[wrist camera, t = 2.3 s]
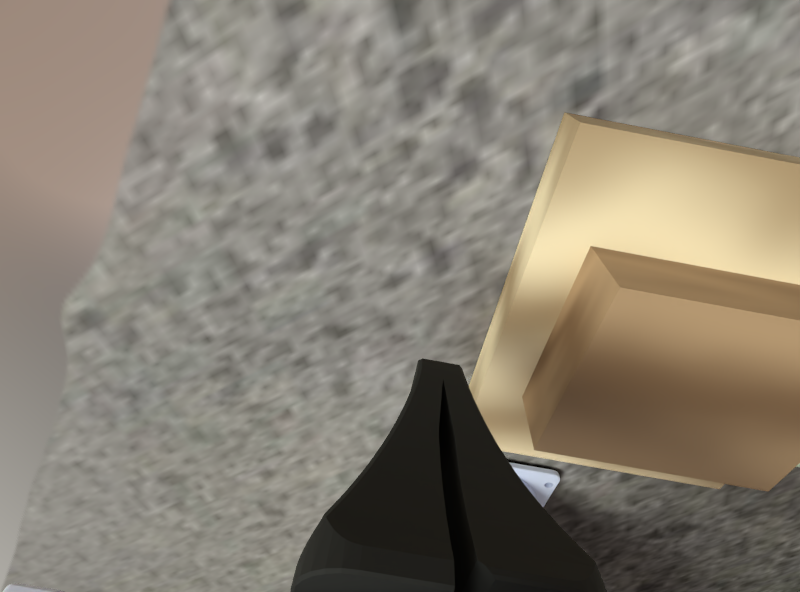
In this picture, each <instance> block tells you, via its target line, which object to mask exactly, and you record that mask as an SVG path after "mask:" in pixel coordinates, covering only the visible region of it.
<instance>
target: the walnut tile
mask: <svg viewBox="0 0 800 592" xmlns="http://www.w3.org/2000/svg"><path fill="white" fill-rule="evenodd" d="M522 399H523V403H524V408H525V412H526V416H527V421H528V425H529V430H530V434H531V438H532V443H533V447H534V450H536V451H542V452H547V453H553V454H559V455H564V456H570V457H576V458H581V459H587V460H593V461H598V462H604V463H610V464H615V465H621V466H627V467H632V468H638V469H644V470H649V471H655V472H661V473H666V474H672V475H678V476H683V477H689V478H695V479H700V480H706V481H712V482H717V483H723V484H729V485H734V486H740V487H746V488H751V489H757V490H763V491H770V490H771V489H772V488H773V487H774V486H775V485H776V484H777V483H778V482H779V481H780V480H782V479H783V478H784V477H785V476H786V475H787V474H788V473H789V472H790V471H791V470H793V469H794V468H795V467H796V466H797V465H798V464H799V463H800V285H798V284H792V283H787V282H782V281H776V280H771V279H765V278H760V277H755V276H749V275H744V274H739V273H733V272H728V271H722V270H717V269H712V268H706V267H701V266H696V265H690V264H685V263H680V262H674V261H669V260H663V259H658V258H653V257H647V256H642V255H637V254H631V253H626V252H620V251H615V250H610V249H604V248H599V247H594V246H590V248H589V251H588V253H587V255H586V257H585V259H584V262H583V264H582V266H581V268H580V270H579V273H578V275H577V277H576V279H575V281H574V284H573V286H572V288H571V290H570V292H569V295H568V297H567V299H566V301H565V303H564V306H563V308H562V310H561V312H560V314H559V317H558V319H557V321H556V323H555V325H554V328H553V330H552V332H551V334H550V336H549V339H548V341H547V343H546V345H545V347H544V350H543V352H542V354H541V356H540V358H539V361H538V363H537V365H536V367H535V369H534V372H533V374H532V376H531V378H530V381H529V383H528V385H527V387H526V389H525V392H524V394H523V396H522Z"/></svg>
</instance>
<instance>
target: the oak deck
mask: <svg viewBox="0 0 800 592" xmlns="http://www.w3.org/2000/svg"><path fill="white" fill-rule="evenodd" d="M590 246H594V247H599V248H604V249H610V250H615V251H620V252H626V253H631V254H637V255H642V256H647V257H653V258H658V259H663V260H669V261H674V262H680V263H685V264H690V265H696V266H701V267H706V268H712V269H717V270H722V271H728V272H733V273H739V274H744V275H749V276H755V277H760V278H765V279H771V280H776V281H782V282H787V283H792V284H798V285H800V158H799V157H794V156H788V155H783V154H778V153H773V152H768V151H762V150H757V149H752V148H747V147H742V146H736V145H731V144H726V143H721V142H716V141H710V140H705V139H700V138H695V137H690V136H684V135H679V134H674V133H669V132H664V131H658V130H653V129H648V128H643V127H638V126H632V125H627V124H622V123H617V122H612V121H606V120H601V119H596V118H591V117H585V116H580V115H575V114H570V113H564V116H563V118H562V121H561V124H560V127H559V130H558V133H557V136H556V138H555V141H554V144H553V147H552V150H551V153H550V156H549V158H548V161H547V164H546V167H545V170H544V173H543V176H542V178H541V181H540V184H539V187H538V190H537V193H536V196H535V198H534V201H533V204H532V207H531V210H530V213H529V216H528V218H527V221H526V224H525V227H524V230H523V233H522V236H521V238H520V241H519V244H518V247H517V250H516V253H515V256H514V258H513V261H512V264H511V267H510V270H509V273H508V276H507V278H506V281H505V284H504V287H503V290H502V293H501V296H500V298H499V301H498V304H497V307H496V310H495V313H494V316H493V318H492V321H491V324H490V327H489V330H488V333H487V336H486V338H485V341H484V344H483V347H482V350H481V353H480V356H479V358H478V361H477V364H476V367H475V370H474V373H473V376H472V378H471V381H470V384H469V389H470V391H471V393H472V396H473V398H474V400H475V402H476V404H477V407H478V409H479V411H480V413H481V415H482V417H483V419H484V421H485V423H486V425H487V426H488V428H489V430H490V432H491V434H492V435H493V437H494V439H495V441H496V443H497V444H498V446H499V448H500V449H501V451H505V452H511V453H517V454H522V455H528V456H534V457H540V458H545V459H551V460H557V461H562V462H568V463H574V464H579V465H585V466H591V467H596V468H602V469H608V470H613V471H619V472H625V473H630V474H636V475H642V476H647V477H653V478H659V479H664V480H670V481H676V482H681V483H687V484H693V485H698V486H704V487H710V488H715V489H720V488H721V487H722V486H723V485H724V484H723V483H717V482H712V481H706V480H700V479H695V478H689V477H683V476H678V475H672V474H666V473H661V472H655V471H649V470H644V469H638V468H632V467H627V466H621V465H615V464H610V463H604V462H598V461H593V460H587V459H581V458H576V457H570V456H564V455H559V454H553V453H547V452H542V451H536V450H534V447H533V443H532V438H531V434H530V430H529V425H528V421H527V416H526V412H525V408H524V403H523V399H522V396H523V394H524V392H525V389H526V387H527V385H528V383H529V381H530V378H531V376H532V374H533V372H534V369H535V367H536V365H537V363H538V361H539V358H540V356H541V354H542V352H543V350H544V347H545V345H546V343H547V341H548V339H549V336H550V334H551V332H552V330H553V328H554V325H555V323H556V321H557V319H558V317H559V314H560V312H561V310H562V308H563V306H564V303H565V301H566V299H567V297H568V295H569V292H570V290H571V288H572V286H573V284H574V281H575V279H576V277H577V275H578V273H579V270H580V268H581V266H582V264H583V262H584V259H585V257H586V255H587V253H588V251H589V248H590Z"/></svg>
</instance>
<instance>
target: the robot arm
mask: <svg viewBox="0 0 800 592" xmlns="http://www.w3.org/2000/svg"><path fill="white" fill-rule="evenodd" d="M559 481H560V476H559V473H558V472H557V471H555V470H551V469H545V468H540V467H534V466H528V465H522V464H517V463H511V462H508V460H507V459H506V457H505V456H504V454H503V452H502V451H501V449H500V448H499V446H498V444H497V443H496V441H495V439H494V437H493V435H492V434H491V432H490V430H489V428H488V426H487V425H486V423H485V421H484V419H483V417H482V415H481V413H480V411H479V409H478V407H477V404H476V402H475V400H474V398H473V396H472V393H471V391H470V389H469V386H468V384H467V381H466V379H465V376H464V373H463V371H462V368H461V367H460V365H455V364H450V363H444V362H439V361H433V360H427V359H421V360H419V361H418V364H417V368H416V372H415V376H414V380H413V384H412V388H411V392H410V394H409V397H408V399H407V401H406V404H405V406H404V408H403V410H402V411H401V413H400V415H399V417H398V419H397V421H396V423H395V425H394V426H393V428H392V430H391V431H390V433H389V435H388V436H387V438H386V439H385V441H384V442H383V444H382V446H381V447H380V448H379V450H378V451H377V453H376V454H375V456H374V457H373V458H372V460H371V461H370V463H369V464H368V465H367V466H366V468H365V469H364V470H363V472H362V473H361V474H360V475H359V476H358V478H357V479H356V480H355V481H354V482H353V484H352V485H351V486H350V487H349V488H348V490H347V491H346V492H345V493H344V494H343V495H342V496H341V497H340V498H339V499H338V500H337V501H336V502H335V504H334V505H333V506H332V507H331V508H330V509H329V510H328V511H327V512H326V513H325V514H324V516H323V517H322V519H321V521H320V522H319V524H318V526H317V527H316V529H315V530H314V532H313V534H312V535H311V537H310V539H309V540H308V542H307V544H306V546H305V548H304V550H303V552H302V554H301V556H300V558H299V561H298V564H297V567H296V570H295V574H294V578H293V582H292V586H291V592H606V589H605V586H604V583H603V580H602V578H601V575H600V573H599V571H598V568H597V566H596V563H595V561H594V560H593V559H592V558H591V557H590V556H589V555H588V554H587V553H586V552H585V551H583V550H582V549H581V548H580V547H579V546H578V545H577V544H576V543H575V542H574V541H573V540H572V539H571V538H570V537H569V536H568V535H567V534H566V533H565V532H564V531H563V530H562V528H561V527H560V526H559V525H558V524H557V523H556V522H555V521H554V520H553V518H552V517H551V516H550V515H549V514H548V513H547V512H546V511H545V509H544V508H543V507H544V506H545V504H546V502H547V501H548V499H549V498H550V496H551V494H552V493H553V491H554V489H555V488H556V486H557V485H558V483H559ZM3 592H64V591H61V590H56V589H50V588H44V587H38V586H32V585H25V584H19V583H12V584H10V585H8V586H7V587H6V588H5V589H4V591H3Z"/></svg>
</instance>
